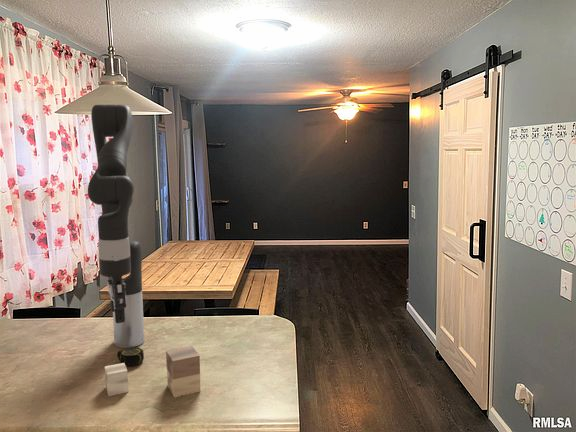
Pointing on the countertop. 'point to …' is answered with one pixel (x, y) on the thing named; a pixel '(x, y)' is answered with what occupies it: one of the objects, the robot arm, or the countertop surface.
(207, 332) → the countertop surface
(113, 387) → the maple block
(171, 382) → the tan wooden block
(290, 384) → the countertop surface
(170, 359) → the walnut slab
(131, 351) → the tape measure
